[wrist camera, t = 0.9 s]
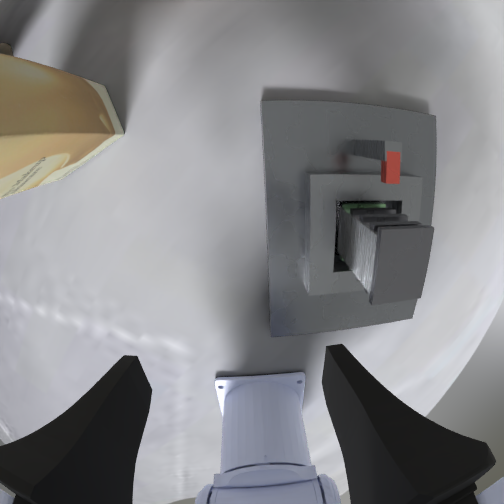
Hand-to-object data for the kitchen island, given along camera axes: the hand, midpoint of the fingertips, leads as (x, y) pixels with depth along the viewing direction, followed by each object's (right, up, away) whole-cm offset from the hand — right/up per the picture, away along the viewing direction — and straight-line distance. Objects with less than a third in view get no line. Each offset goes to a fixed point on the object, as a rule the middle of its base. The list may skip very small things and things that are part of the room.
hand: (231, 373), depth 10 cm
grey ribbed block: (+8, +6, +7) cm, 12 cm away
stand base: (+8, +6, +8) cm, 13 cm away
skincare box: (-11, +13, +5) cm, 18 cm away
